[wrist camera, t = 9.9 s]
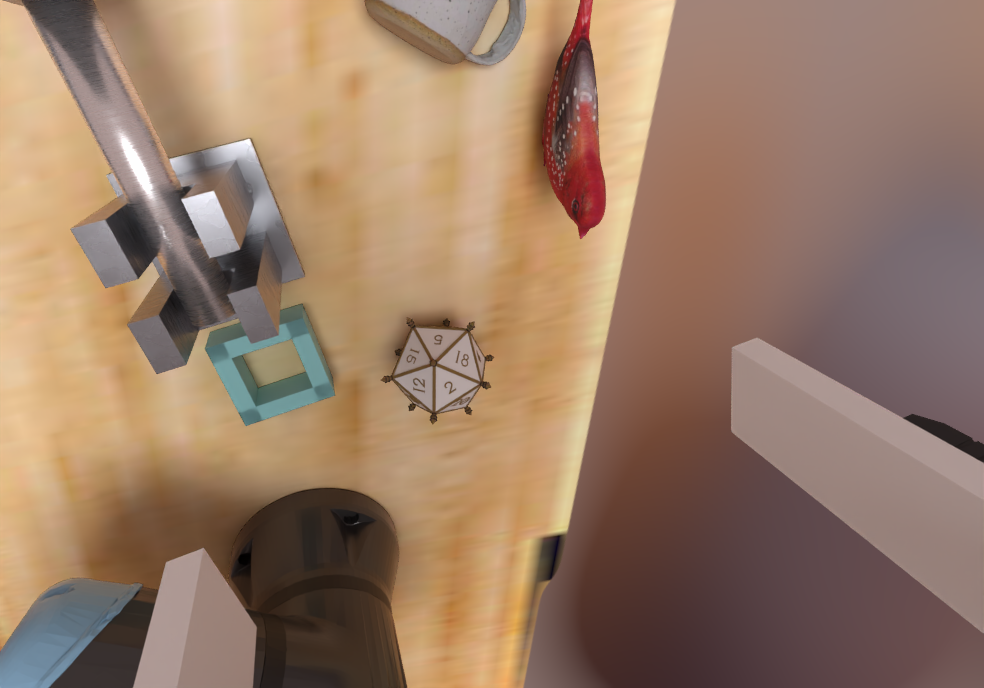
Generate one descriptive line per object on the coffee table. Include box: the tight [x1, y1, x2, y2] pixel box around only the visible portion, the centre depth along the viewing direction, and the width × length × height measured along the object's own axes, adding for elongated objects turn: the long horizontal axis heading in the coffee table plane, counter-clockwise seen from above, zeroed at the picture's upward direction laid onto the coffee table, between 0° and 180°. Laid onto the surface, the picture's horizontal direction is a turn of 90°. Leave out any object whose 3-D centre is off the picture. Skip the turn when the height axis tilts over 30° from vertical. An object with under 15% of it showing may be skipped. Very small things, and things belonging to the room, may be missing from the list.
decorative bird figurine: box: [542, 0, 606, 239], centre depth 38 cm, size 3×18×10 cm, turn 178°
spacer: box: [205, 304, 335, 426], centre depth 43 cm, size 3×7×7 cm
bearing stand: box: [71, 138, 305, 374], centre depth 33 cm, size 10×9×13 cm
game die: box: [381, 318, 494, 424], centre depth 45 cm, size 9×8×10 cm
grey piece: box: [3, 0, 236, 327], centre depth 27 cm, size 19×4×9 cm, turn 12°
